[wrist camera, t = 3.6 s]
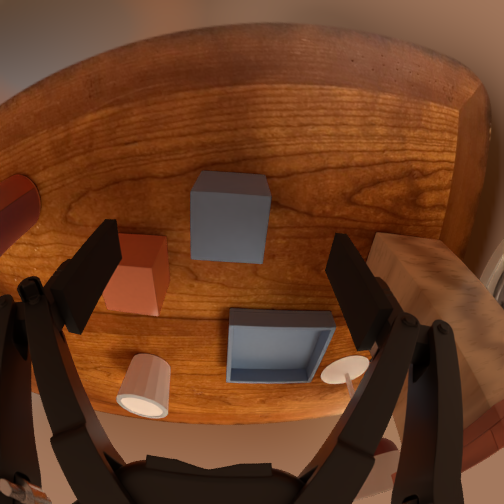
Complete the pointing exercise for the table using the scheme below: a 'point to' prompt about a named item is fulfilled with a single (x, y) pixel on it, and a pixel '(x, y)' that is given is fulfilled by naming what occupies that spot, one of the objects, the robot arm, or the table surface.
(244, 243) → the slate block
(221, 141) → the table surface
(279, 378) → the tray
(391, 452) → the wineglass
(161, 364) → the shot glass
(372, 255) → the stand
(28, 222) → the beverage can
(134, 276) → the terracotta block
